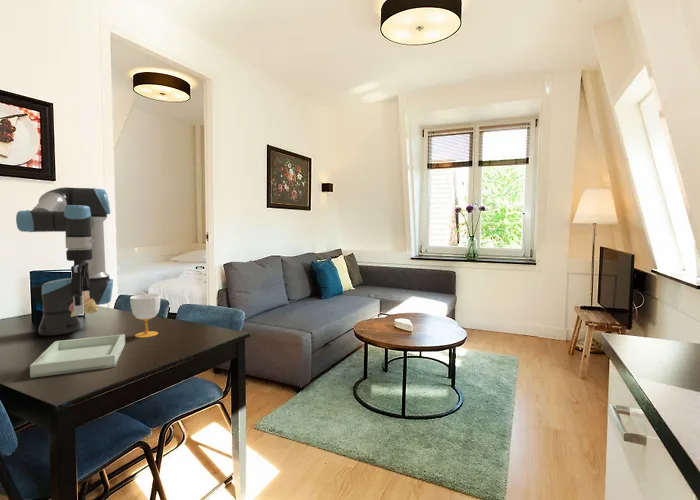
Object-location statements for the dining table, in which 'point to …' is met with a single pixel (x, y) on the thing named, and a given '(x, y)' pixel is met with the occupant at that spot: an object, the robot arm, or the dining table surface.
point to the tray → (78, 355)
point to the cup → (145, 310)
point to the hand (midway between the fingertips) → (82, 311)
